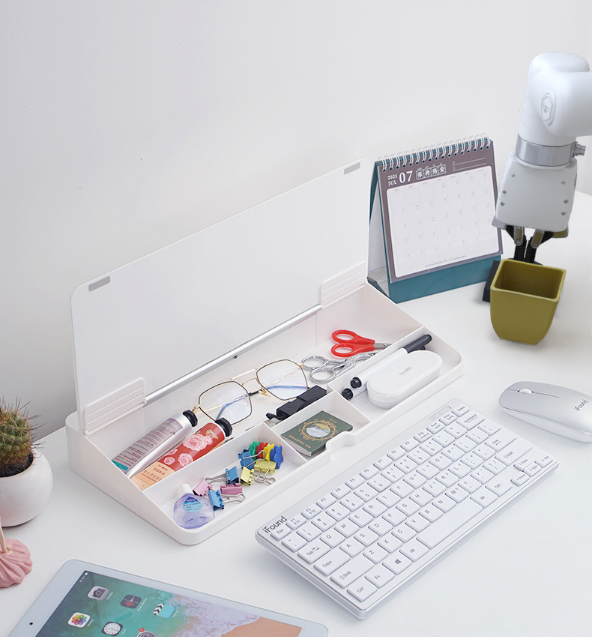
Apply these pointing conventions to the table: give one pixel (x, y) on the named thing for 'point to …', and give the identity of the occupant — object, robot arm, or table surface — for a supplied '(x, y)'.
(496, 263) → the switch
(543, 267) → the flower pot
